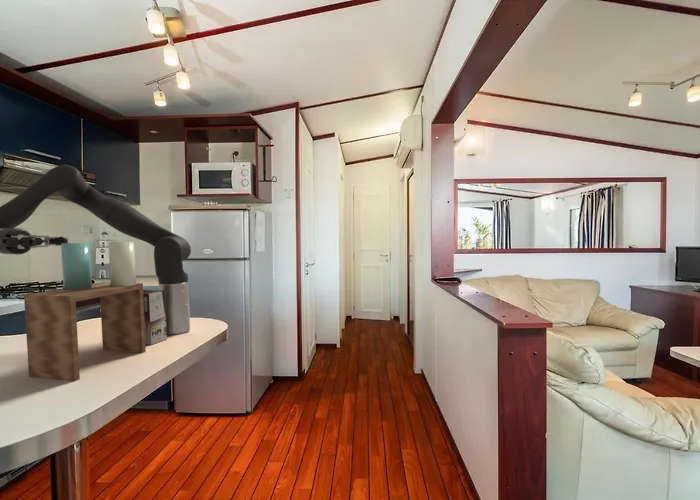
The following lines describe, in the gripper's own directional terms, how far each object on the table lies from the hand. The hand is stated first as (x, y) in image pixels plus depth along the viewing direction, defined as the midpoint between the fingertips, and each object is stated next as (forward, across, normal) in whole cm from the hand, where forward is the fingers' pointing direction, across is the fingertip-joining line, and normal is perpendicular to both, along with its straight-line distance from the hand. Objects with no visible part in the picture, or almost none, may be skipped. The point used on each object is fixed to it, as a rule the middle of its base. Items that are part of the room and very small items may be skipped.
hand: (51, 241), depth 99 cm
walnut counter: (+16, -2, +32) cm, 36 cm away
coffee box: (+15, +17, +32) cm, 40 cm away
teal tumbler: (+12, -2, +12) cm, 17 cm away
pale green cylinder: (+20, +4, +12) cm, 24 cm away
